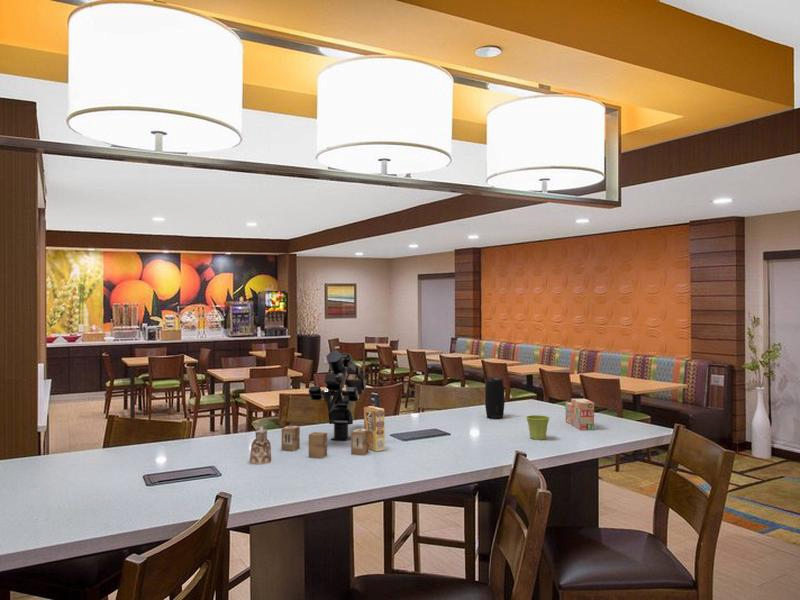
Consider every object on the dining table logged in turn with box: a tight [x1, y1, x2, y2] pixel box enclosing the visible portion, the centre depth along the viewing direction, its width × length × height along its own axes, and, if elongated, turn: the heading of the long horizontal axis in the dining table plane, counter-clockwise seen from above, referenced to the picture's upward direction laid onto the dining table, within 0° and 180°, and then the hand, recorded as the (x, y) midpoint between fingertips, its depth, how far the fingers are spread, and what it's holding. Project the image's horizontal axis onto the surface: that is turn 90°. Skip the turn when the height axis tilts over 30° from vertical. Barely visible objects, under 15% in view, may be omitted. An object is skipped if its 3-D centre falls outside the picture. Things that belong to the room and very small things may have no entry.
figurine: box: [249, 424, 272, 465], centre depth 202 cm, size 7×7×12 cm
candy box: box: [363, 405, 386, 452], centre depth 222 cm, size 9×4×15 cm, turn 33°
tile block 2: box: [350, 428, 370, 456], centre depth 215 cm, size 5×5×8 cm
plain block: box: [308, 431, 328, 459], centre depth 210 cm, size 5×5×8 cm
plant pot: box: [525, 414, 551, 441], centre depth 241 cm, size 9×9×9 cm
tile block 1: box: [281, 425, 301, 452], centre depth 221 cm, size 5×5×8 cm
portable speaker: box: [484, 376, 505, 420], centre depth 290 cm, size 9×9×20 cm
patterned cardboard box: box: [564, 398, 595, 431], centre depth 269 cm, size 21×6×12 cm, turn 2°
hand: (329, 411), depth 224 cm, fingers closed
